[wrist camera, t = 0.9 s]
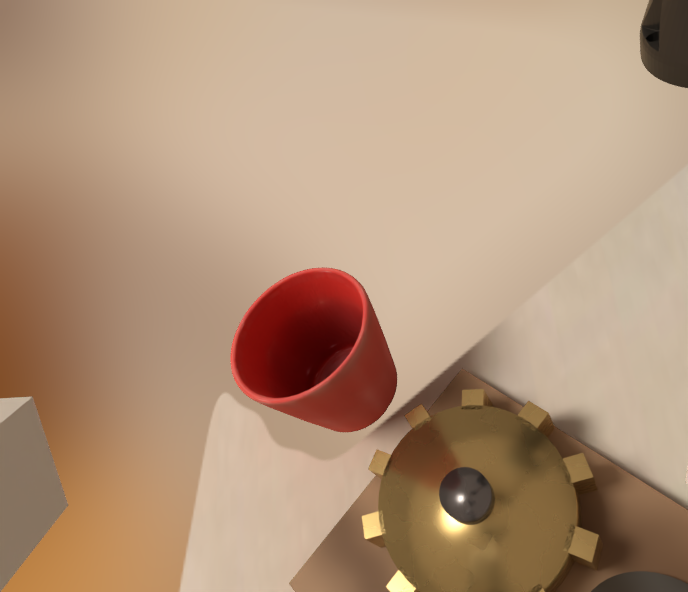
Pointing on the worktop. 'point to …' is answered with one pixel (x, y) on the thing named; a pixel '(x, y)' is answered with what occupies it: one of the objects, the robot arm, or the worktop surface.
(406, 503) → the brass gear
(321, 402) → the flower pot
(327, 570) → the gear board
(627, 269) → the worktop surface
